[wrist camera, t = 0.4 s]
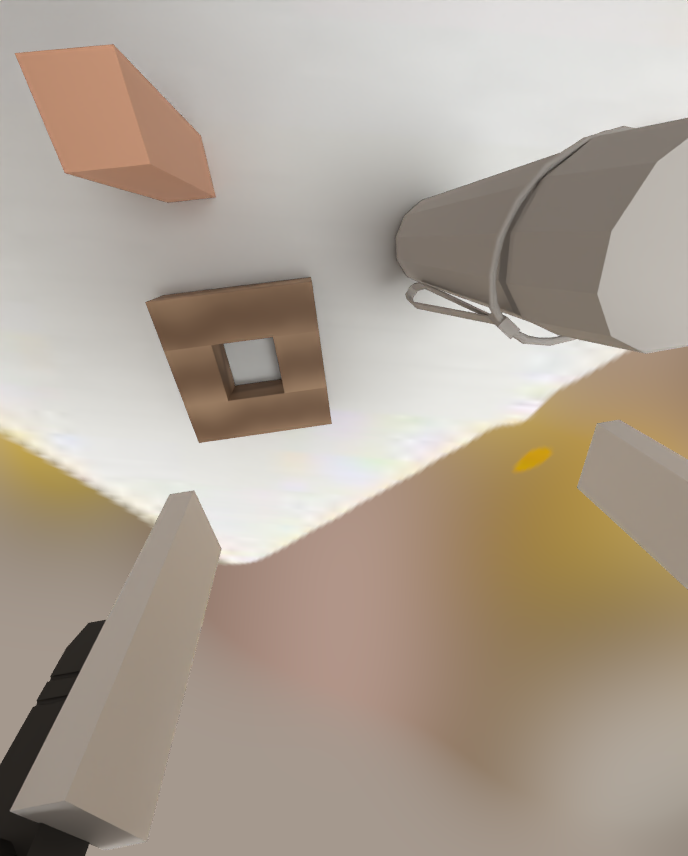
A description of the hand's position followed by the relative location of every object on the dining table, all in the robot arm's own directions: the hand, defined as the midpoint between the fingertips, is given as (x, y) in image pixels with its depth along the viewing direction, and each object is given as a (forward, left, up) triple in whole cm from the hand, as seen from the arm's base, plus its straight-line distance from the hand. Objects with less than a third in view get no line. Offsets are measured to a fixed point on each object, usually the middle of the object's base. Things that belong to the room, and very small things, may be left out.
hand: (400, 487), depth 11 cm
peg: (-13, -11, -27) cm, 32 cm away
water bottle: (-5, +9, -27) cm, 29 cm away
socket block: (+3, -9, -27) cm, 28 cm away
